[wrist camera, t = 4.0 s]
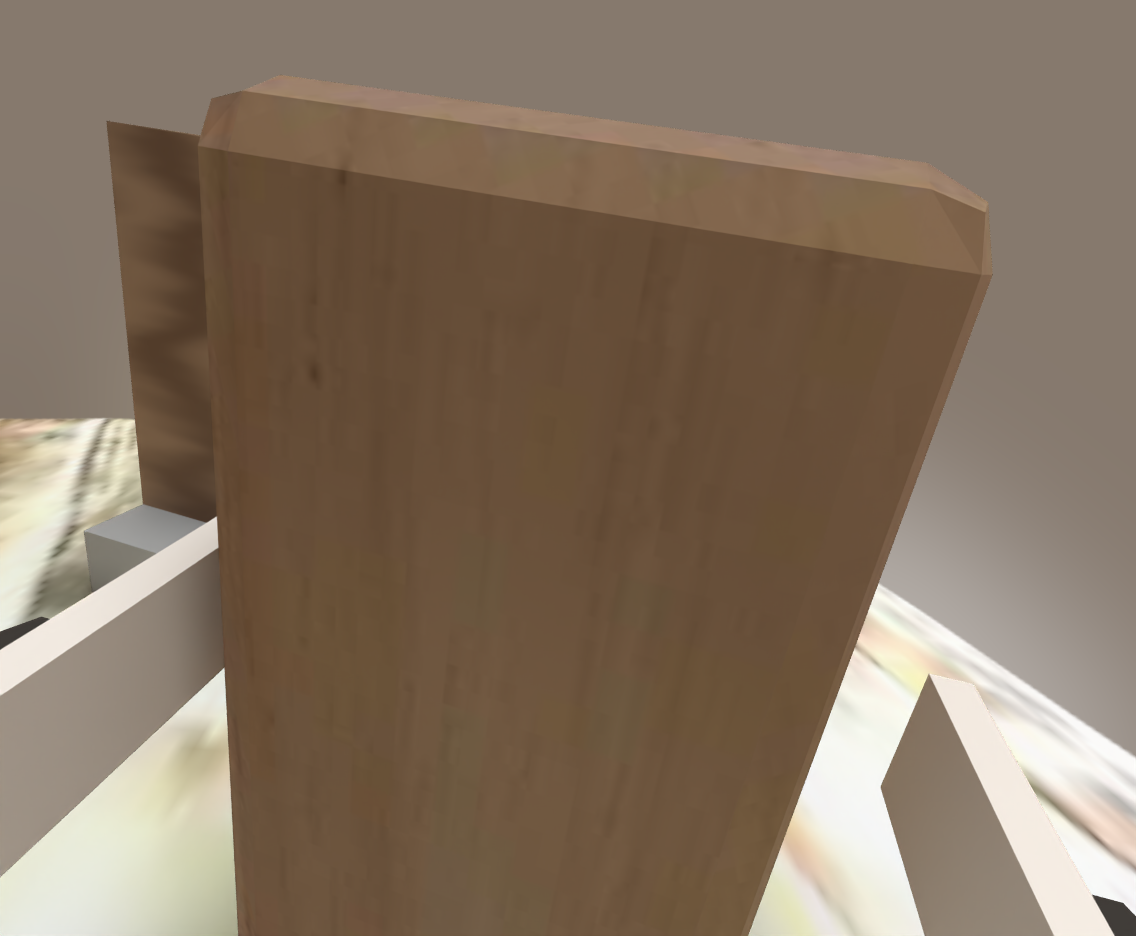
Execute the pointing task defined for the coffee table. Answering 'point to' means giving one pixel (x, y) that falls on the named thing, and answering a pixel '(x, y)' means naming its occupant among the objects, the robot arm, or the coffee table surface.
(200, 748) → the coffee table surface
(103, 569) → the foundation
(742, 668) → the block
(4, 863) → the robot arm
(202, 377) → the walnut pillar
